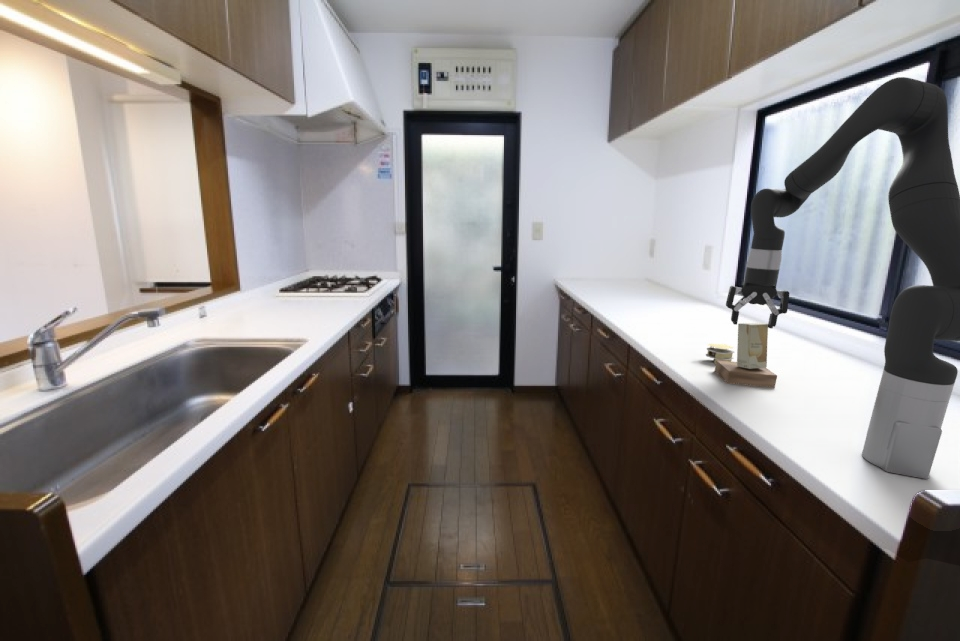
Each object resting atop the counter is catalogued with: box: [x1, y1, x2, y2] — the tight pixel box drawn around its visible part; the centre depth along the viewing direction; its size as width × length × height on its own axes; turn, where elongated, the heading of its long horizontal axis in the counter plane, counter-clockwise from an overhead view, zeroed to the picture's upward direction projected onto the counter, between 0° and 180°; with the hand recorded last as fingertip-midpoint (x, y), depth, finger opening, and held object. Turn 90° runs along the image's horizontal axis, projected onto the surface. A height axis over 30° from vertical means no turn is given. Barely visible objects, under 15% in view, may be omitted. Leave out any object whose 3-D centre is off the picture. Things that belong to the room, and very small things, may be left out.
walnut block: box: [714, 360, 778, 388], centre depth 127 cm, size 10×12×4 cm
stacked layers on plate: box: [705, 343, 735, 365], centre depth 142 cm, size 10×9×6 cm
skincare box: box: [736, 322, 769, 369], centre depth 125 cm, size 6×4×12 cm
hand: (752, 325), depth 124 cm, fingers open, 8 cm apart
